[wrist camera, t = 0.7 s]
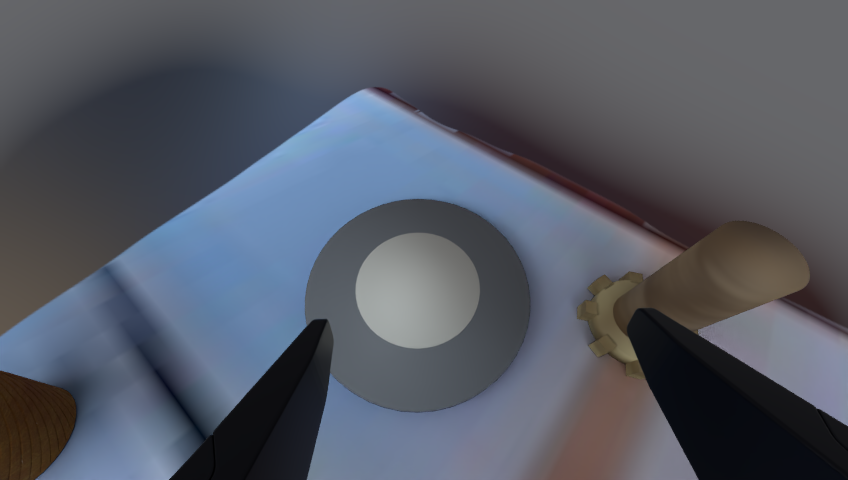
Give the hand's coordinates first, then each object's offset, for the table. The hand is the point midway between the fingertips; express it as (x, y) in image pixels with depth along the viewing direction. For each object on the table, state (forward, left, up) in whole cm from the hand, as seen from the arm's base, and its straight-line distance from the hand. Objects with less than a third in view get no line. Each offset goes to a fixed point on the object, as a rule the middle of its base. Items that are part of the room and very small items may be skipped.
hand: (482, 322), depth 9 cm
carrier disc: (+8, -2, -16) cm, 18 cm away
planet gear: (-3, -15, -16) cm, 22 cm away
